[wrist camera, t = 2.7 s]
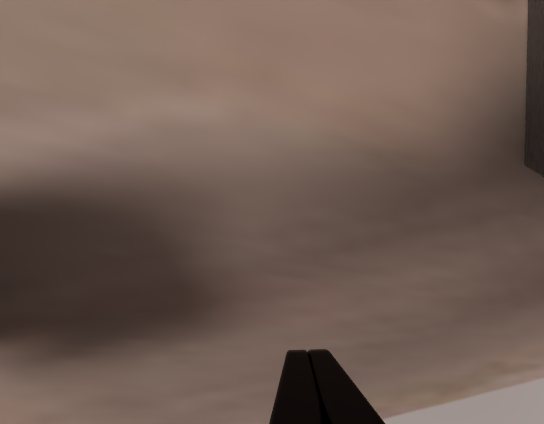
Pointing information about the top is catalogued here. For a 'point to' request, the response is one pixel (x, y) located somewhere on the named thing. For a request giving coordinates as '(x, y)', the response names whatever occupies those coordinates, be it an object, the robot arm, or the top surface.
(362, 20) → the top surface
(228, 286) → the top surface
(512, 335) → the top surface
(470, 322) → the top surface
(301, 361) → the robot arm
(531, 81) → the box
